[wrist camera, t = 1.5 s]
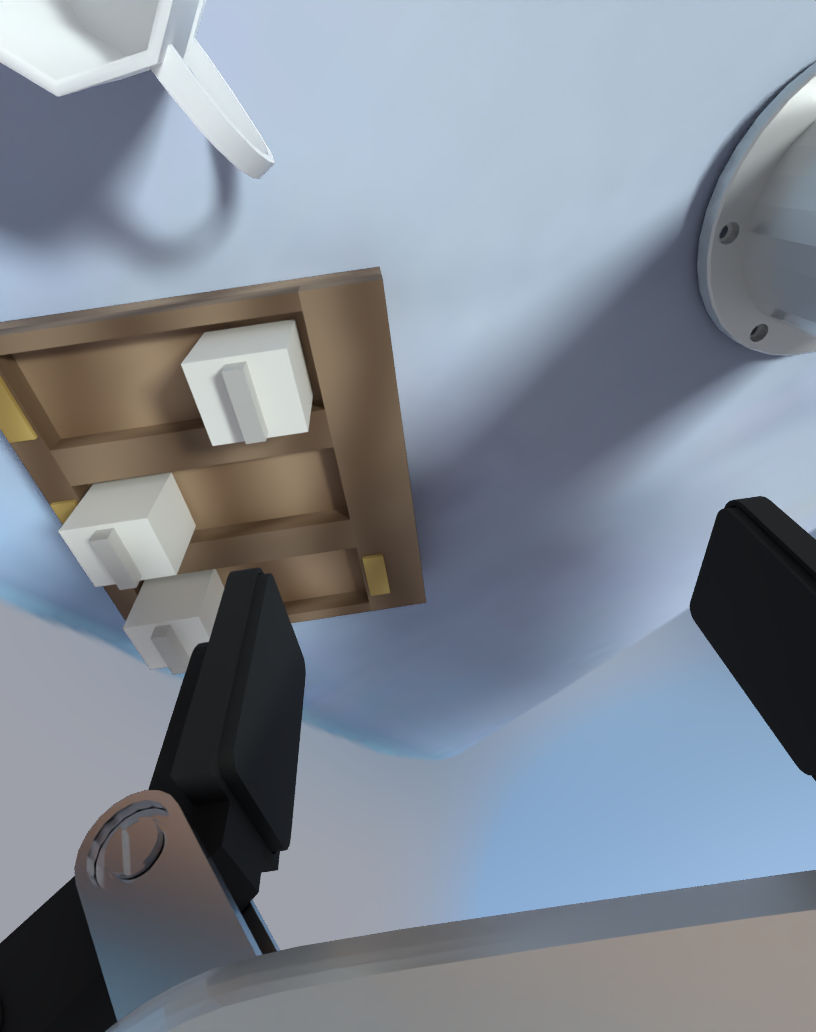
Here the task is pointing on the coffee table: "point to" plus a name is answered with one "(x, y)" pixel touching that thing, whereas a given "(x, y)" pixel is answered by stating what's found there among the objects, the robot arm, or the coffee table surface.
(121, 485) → the tab middle
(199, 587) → the tab
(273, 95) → the coffee table surface
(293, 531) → the switch board
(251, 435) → the tab
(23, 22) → the cup
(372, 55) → the coffee table surface
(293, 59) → the coffee table surface
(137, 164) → the coffee table surface
